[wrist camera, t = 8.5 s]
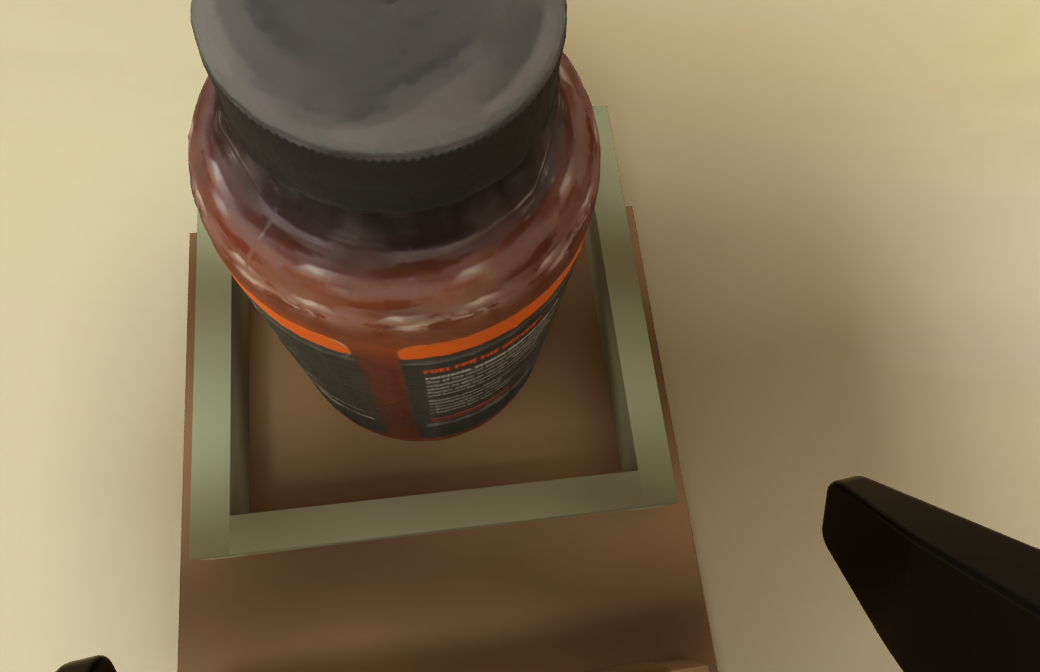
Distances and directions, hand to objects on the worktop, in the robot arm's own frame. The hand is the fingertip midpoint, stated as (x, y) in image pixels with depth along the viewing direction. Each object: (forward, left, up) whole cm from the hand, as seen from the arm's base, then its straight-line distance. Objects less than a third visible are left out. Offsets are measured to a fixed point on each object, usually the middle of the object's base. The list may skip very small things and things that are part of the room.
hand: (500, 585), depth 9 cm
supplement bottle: (+6, +1, -8) cm, 10 cm away
